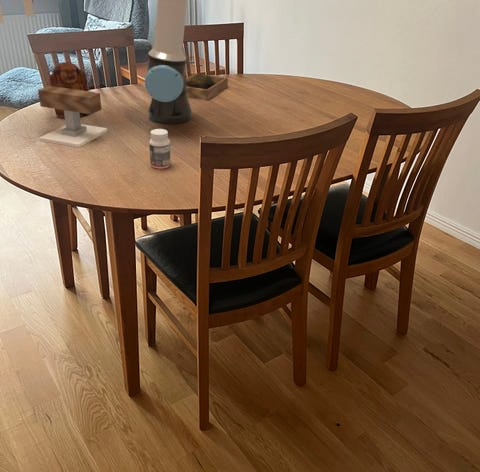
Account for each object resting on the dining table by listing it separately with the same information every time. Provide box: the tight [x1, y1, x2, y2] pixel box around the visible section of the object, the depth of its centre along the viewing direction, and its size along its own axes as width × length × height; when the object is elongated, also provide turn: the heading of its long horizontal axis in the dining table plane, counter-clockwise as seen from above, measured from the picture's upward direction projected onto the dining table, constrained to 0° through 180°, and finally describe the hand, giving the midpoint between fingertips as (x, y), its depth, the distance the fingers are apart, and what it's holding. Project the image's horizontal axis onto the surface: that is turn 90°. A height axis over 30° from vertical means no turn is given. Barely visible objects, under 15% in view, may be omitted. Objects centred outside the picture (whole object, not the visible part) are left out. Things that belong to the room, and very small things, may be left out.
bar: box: [37, 85, 102, 115], centre depth 155 cm, size 18×6×5 cm, turn 71°
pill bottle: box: [148, 128, 172, 170], centre depth 141 cm, size 6×6×10 cm
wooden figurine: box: [49, 61, 90, 120], centre depth 173 cm, size 12×6×18 cm, turn 134°
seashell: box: [186, 72, 215, 89], centre depth 211 cm, size 16×9×7 cm, turn 138°
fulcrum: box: [39, 110, 109, 149], centre depth 159 cm, size 14×16×9 cm
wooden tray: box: [186, 73, 229, 102], centre depth 210 cm, size 15×22×4 cm
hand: (15, 19), depth 150 cm, fingers open, 13 cm apart
